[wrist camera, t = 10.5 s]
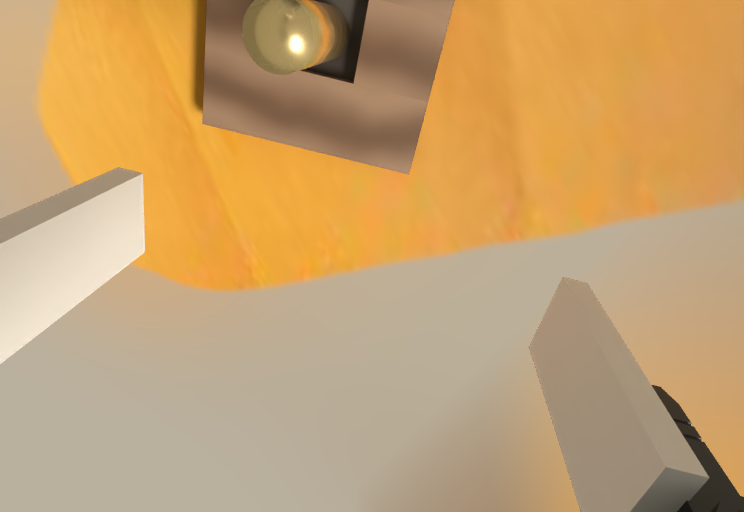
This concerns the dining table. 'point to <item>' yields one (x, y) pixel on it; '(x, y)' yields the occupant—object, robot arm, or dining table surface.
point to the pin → (294, 34)
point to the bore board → (332, 82)
